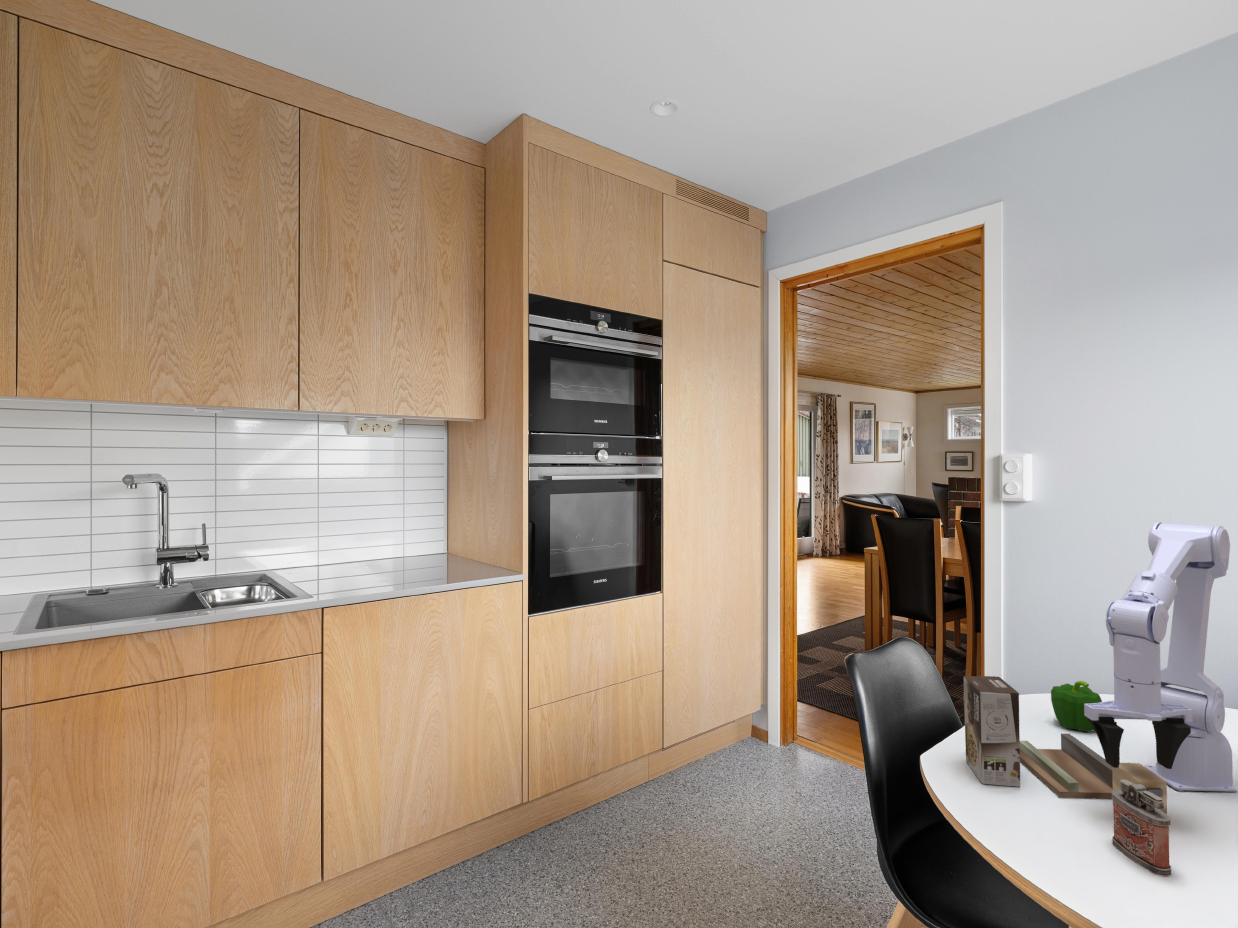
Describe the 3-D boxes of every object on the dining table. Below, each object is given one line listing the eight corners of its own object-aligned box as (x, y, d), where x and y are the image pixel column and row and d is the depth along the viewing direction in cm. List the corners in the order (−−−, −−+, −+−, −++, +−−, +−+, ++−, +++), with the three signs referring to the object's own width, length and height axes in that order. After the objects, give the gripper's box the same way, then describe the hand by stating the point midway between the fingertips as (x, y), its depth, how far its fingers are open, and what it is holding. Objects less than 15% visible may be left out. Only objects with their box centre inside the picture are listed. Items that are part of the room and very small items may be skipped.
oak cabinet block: (1139, 806, 104) (1138, 762, 104) (1170, 829, 98) (1169, 783, 98) (1113, 805, 105) (1112, 762, 105) (1141, 829, 98) (1141, 782, 98)
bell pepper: (1044, 718, 139) (1043, 671, 139) (1086, 719, 138) (1085, 672, 138) (1065, 734, 131) (1064, 685, 131) (1110, 736, 130) (1109, 686, 130)
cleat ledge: (1078, 754, 122) (1077, 733, 122) (1137, 799, 106) (1137, 775, 106) (1010, 753, 123) (1010, 732, 123) (1059, 797, 107) (1059, 773, 107)
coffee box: (1022, 787, 111) (1020, 693, 111) (981, 784, 112) (979, 691, 112) (1002, 762, 120) (1000, 675, 120) (964, 760, 121) (962, 674, 121)
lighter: (1105, 841, 95) (1104, 773, 95) (1127, 840, 95) (1126, 772, 95) (1155, 876, 87) (1154, 802, 87) (1179, 875, 87) (1177, 800, 87)
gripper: (1103, 686, 98) (1105, 776, 98) (1207, 687, 97) (1209, 779, 97) (1075, 671, 105) (1077, 755, 105) (1172, 672, 104) (1173, 757, 104)
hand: (1138, 765), depth 101 cm, fingers open, 7 cm apart
